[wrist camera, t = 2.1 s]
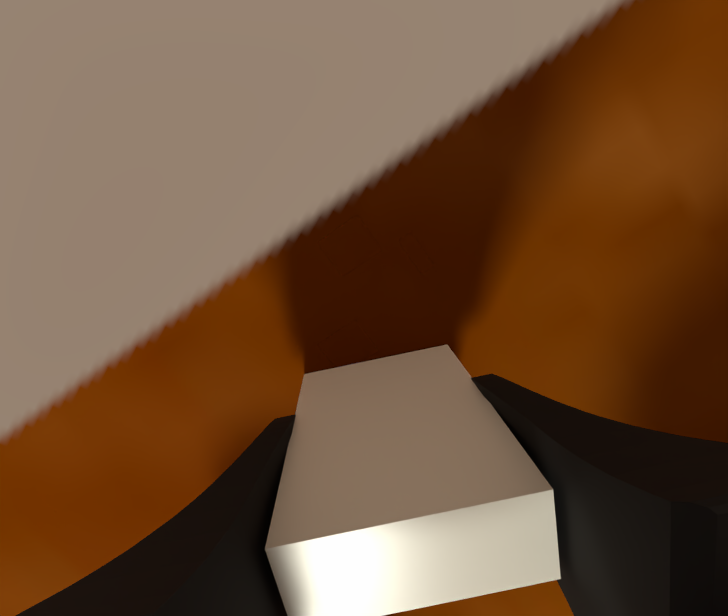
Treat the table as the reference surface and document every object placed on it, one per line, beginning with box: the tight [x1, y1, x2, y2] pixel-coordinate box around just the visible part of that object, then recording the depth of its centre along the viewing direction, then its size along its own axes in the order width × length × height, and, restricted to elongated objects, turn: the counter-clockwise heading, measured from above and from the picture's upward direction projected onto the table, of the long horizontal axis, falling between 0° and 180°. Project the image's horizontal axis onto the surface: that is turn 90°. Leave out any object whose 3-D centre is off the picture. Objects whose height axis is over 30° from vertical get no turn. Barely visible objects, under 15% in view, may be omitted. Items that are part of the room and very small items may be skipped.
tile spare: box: [265, 345, 561, 616], centre depth 10 cm, size 5×2×7 cm, turn 101°
